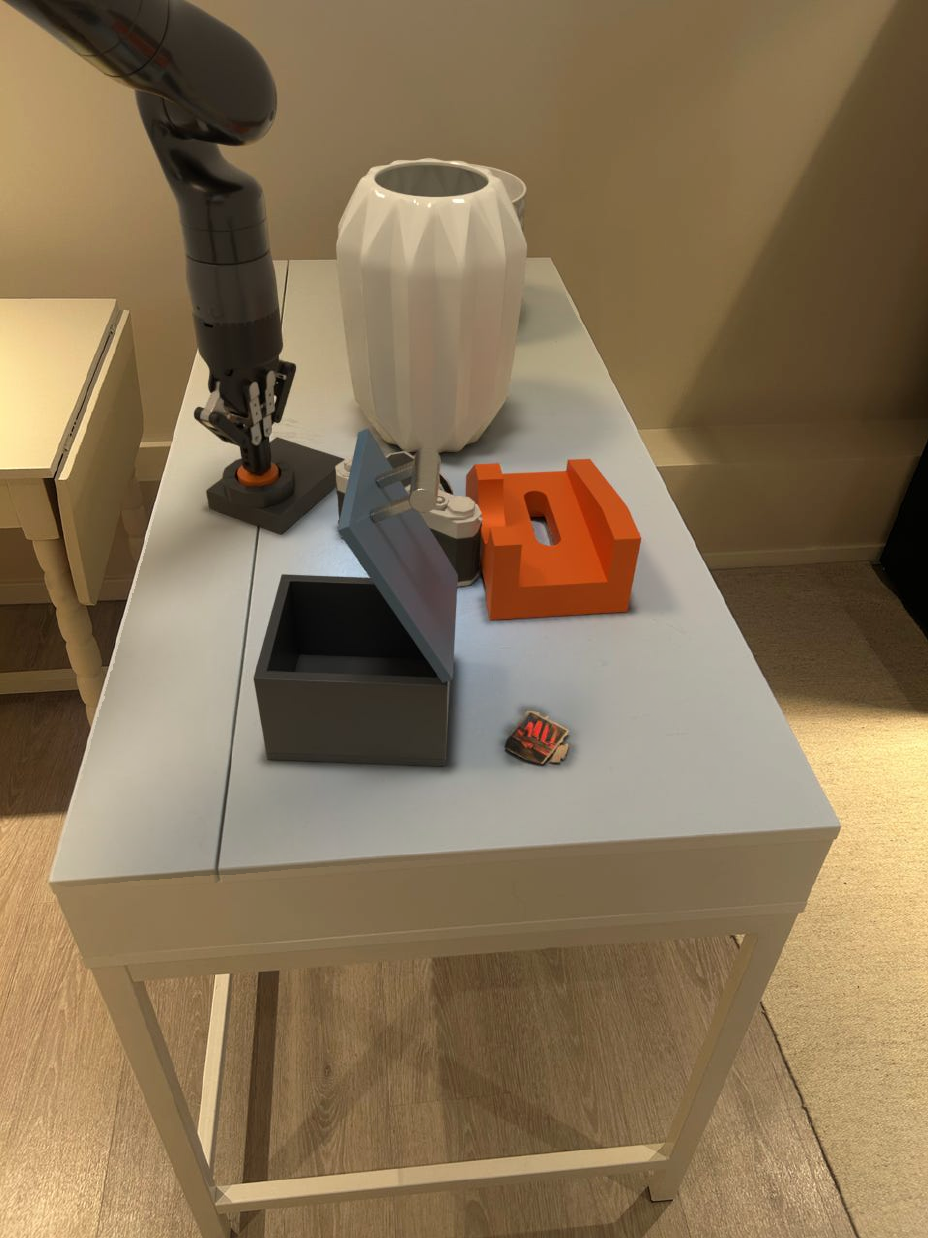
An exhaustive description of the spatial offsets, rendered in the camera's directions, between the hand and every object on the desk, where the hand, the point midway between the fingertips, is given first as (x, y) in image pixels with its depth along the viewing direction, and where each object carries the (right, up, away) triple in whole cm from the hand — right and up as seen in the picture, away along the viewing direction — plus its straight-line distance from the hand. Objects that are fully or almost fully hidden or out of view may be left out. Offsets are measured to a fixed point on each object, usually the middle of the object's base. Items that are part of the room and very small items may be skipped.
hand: (258, 470), depth 93 cm
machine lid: (+16, -10, -28) cm, 34 cm away
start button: (0, -1, +1) cm, 2 cm away
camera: (+16, -8, -1) cm, 18 cm away
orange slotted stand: (+28, -9, -2) cm, 29 cm away
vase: (+17, +7, +15) cm, 24 cm away
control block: (+1, -1, +5) cm, 5 cm away
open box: (+12, -22, -18) cm, 31 cm away
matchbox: (+26, -24, -20) cm, 41 cm away
